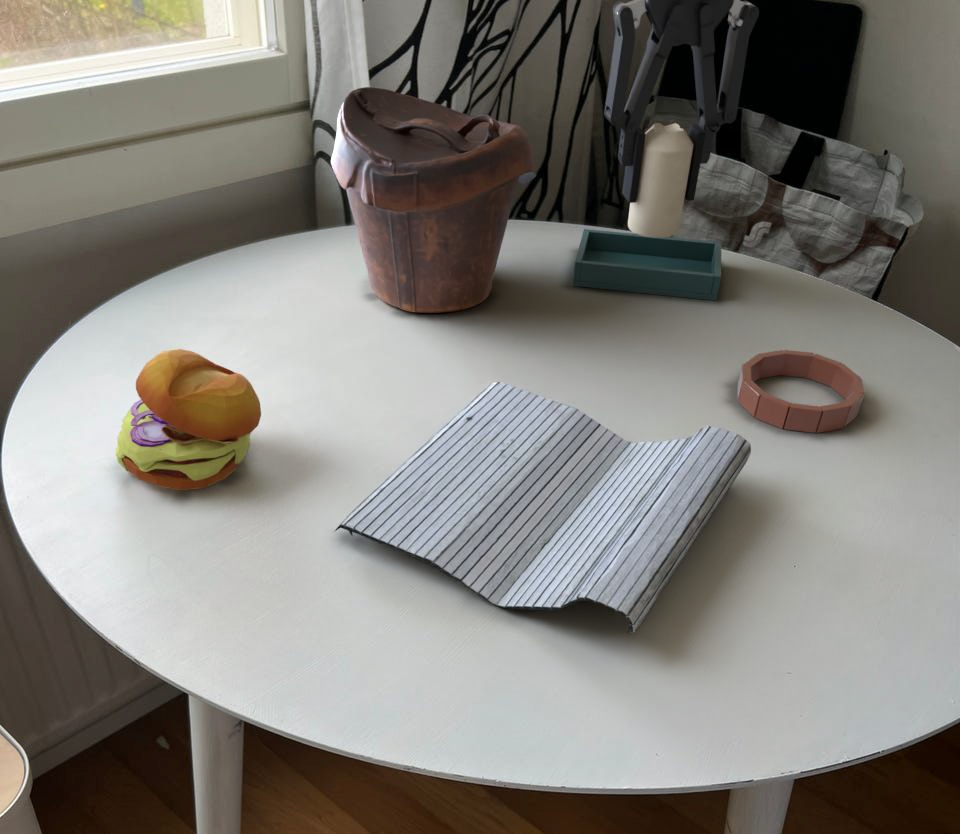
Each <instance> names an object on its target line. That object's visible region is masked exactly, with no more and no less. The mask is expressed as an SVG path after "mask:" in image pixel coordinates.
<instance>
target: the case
mask: <svg viewBox="0 0 960 834" xmlns="http://www.w3.org/2000/svg"><path fill="white" fill-rule="evenodd" d="M531 147H532V146H531V142H530V138H529V136H528V134H527V132H526V131H525V130H524V129H523V128H522V127H521V126H520V125H518V124H513V123H509V122H506V121H501V120H497V119H495V118H493V117H492V116H491V115H488V114H486V113H485V114H484V113H483V114H480V115H478V116H475V115H471V114H466V113H463V112H461V111H459V110H455V109H453V108H450V107H447V106H446V105H445V106H444V105H442V104H439V103H436V102H432V101H429V100H425V99H422V98H419V97H416V96H412V95H409V94H404V93H401V92H397V91H394V90H391V89H387V88H380V87H373V86H365V87H359V88H356V89H353V90H351V91H350V92H349V93H348V94H347V95H346V96H345V98H344V100H343V102H342V104H341V106H340V108H339V111H338V115H337V120H336V133H335V139H334V145H333V151H332V154H331V158H330V165H331V168H332V170H333V173H334V175H335V177H336V179H337V180H338V183H339V186H340V187H341V188H343V190H346V195H347V199H348V203H349V207H350V210H351V214H352V219H353V222H354V225H355V230H356V233H357V236H358V241H359V246H360V249H361V253H362V256H363V260H364V263H365V264H364V265H365V267H366V271H367V275H368V279H369V284H370V287H371V290H372V291H373V293H374V295H376V296H377V297H378V298H379V299H380V300H381V301H383V302H384V303H387V304H389V305H390V306H393V307H396V308H397V309H400V310H402V311H406V312H411V313H422V314H423V313H424V314H439V313H440V314H441V313H449V312H450V313H451V312H456V311H462V310H466V309H470V308H474V307H475V306H477V305H479V304H482V303H483V302H484V301H485V300H486V299H487V298H488V297H489V295H490V294H491V290H492V285H493V279H494V275H495V272H496V268H497V263H498V259H499V256H500V252H501V249H502V244H503V241H504V237H505V233H506V230H507V227H508V222H509V221H508V220H509V219H510V218H509V217H510V214H511V209H512V205H513V202H514V198H515V194H516V190H517V186H518V183H519V184H520V185H524V184H527V183H528V182H531V181H532V180H533V179H534V178H535V177H537V172H536V169H535V164H534V159H533V158H534V157H533V152H532V148H531Z"/></svg>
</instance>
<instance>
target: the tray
mask: <svg viewBox="0 0 960 834" xmlns="http://www.w3.org/2000/svg"><path fill="white" fill-rule="evenodd" d="M573 268H574V269H573V277H572V286H573V287H582V288H589V289H599V290H608V291H609V290H611V291H619V292H629V293H639V294H649V295H657V296H668V297H677V298H678V297H679V298H687V299H696V300H697V299H698V300H705V301H706V300H707V301H714V302H715V301H717V299H718V294H719V289H720V285H721V280H722V242H721V241H713V240H703V239H693V238H682V237H673V236H670V237H664V238H652V237H645V236H641V235H638V234H636V233H631V232H630V233H629V232H620V231H611V230H610V231H609V230H599V229H589V228H583V230H582V235H581V238H580V241H579V246H578V250H577V253H576V256H575V259H574V267H573Z"/></svg>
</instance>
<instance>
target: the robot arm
mask: <svg viewBox="0 0 960 834" xmlns="http://www.w3.org/2000/svg"><path fill="white" fill-rule="evenodd" d="M644 13H645V15H646V17H647V19H648V21H649V23H650V26H651V31H650V33H649V36H648V38H647V42H646V49H645V52H644V55H643V58H642V61H641V62H640V65H639V68H638V71H637V74H636V76H635V79H634V82H633V84H632V87H631V89H630V93H629V96H628V98H627V95H628V87H629V81H630V74H631V67H632V62H633V57H634V48H635V41H636V30H637V29H638V28H639V27H640V24H641V18H642V16H643V14H644ZM612 14H613V16H612V17H613V21H614V22H613V23H614V28H615V35H614V42H613V48H612V56H611V62H610V68H609V69H610V70H609V76H608V83H607V90H606V98H605V103H604V110H603V111H604V112H603V114H604V117H605V118H606V119H607V121H608V122H609V123H610V124H611V125H612V126H613V127H618V128H620V135H619V145H618V152H617V159H618V162H619V163H620V164H621V166H622V167H624V175H623V183H622V191H621V194H622V196H623V197H624V198H625V200H626V201H627V202H628V203H629V204H630V203H636V200H637V193H638V185H639V178H640V171H641V164H642V156H643V149H644V142H645V135H646V134H645V133H646V132H645V131H644V130H642V128H641V127H640V126H641V124H642V121H643V118H644V116H645V113H646V110H647V108H648V106H649V103H650V100H651V98H652V95H653V92H654V90H655V87H656V84H657V82H658V79H659V77H660V74H661V72H662V69H663V67H664V64H665V61H666V59H667V58H669V56H670V54H671V51H672V48H673V47H678V46H681V45H685V44H686V45H689V46H690V48H691V51H692V57H693V70H694V71H693V72H694V83H695V97H696V108H697V119H698V124H697V123H689V127H688V132H687V135H688V136H689V138H690V139H691V141H692V142H693V151H692V157H691V163H690V169H689V175H688V181H687V186H686V192H685V198H684V200H686V201H687V202H689V201H690V202H691V201H695V196H696V192H697V186H698V180H699V179H698V178H699V174H700V169H701V164H703V165H705V164H706V165H707V164H708V162H709V160H710V158H711V151H712V146H713V142H714V136H715V134H716V133H718V132H719V131H720V129H721V126H723V125H724V124H732V123H734V122H735V120H736V119H737V117H738V110H739V103H740V97H741V90H742V84H743V77H744V71H745V67H746V59H747V53H748V47H749V40H750V36H751V33H752V31H753V29H754V27H755V25H756V22H757V21H758V18H759V17H760V16H759V15H760V9H759V8H758V6H756V5H754V4H752V3H751V2H749V1H748V0H631V1H628V2H626V3H624V2H623V1H619V0H618V1H616V2H615V3H614V4H613V7H612ZM727 14H728V18H727V24H728V25H729V27H728V30H727V36H726V42H725V48H724V56H723V63H722V69H721V75H720V83H719V90H718V97H717V87H716V86H717V85H716V76H715V75H716V71H715V57H714V55H715V52H716V47H715V45H716V44H715V30H716V29H717V28H718V26H719V25H720V24H721V22H722V21H723V20H724V18H725V17H726V16H727ZM626 99H627V100H626Z"/></svg>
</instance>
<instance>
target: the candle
mask: <svg viewBox="0 0 960 834" xmlns="http://www.w3.org/2000/svg"><path fill="white" fill-rule="evenodd" d="M644 133H645V134H646V135H645V142H644V149H643V156H642V164H641V171H640V178H639V185H638V193H637V200H636V203H629V211H628V219H627V229H629V231H630V232H632V233H633V234H638V235H641V236H645V237H652V238H664V237H673V236H675V235H677V233H679V231H680V226H681V222H682V215H683V210H684V203H685V192H686V186H687V181H688V175H689V169H690V163H691V157H692V151H693V142H692V141H691V139H690V138H689V136H688V132H686V130H685V128H681V126H680V125H679V124H678V123H676V122H675V123H671V124H669V125H663V124H662V123H661V122H655V123H654V124H652V126H651V127H650V128H649V129H648V130H646V132H644Z"/></svg>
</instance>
